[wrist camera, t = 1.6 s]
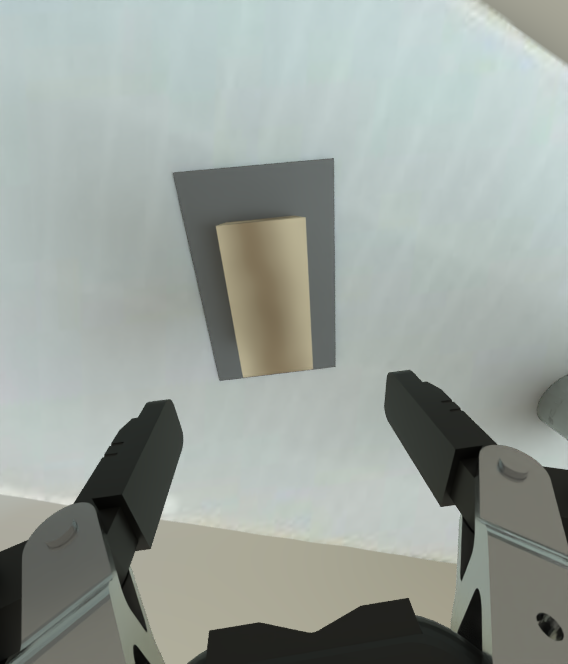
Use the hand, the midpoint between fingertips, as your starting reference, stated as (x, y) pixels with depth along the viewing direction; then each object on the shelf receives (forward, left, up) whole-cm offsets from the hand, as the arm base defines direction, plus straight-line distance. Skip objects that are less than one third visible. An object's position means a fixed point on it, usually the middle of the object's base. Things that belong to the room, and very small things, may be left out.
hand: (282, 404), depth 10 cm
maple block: (0, 0, -17) cm, 17 cm away
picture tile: (0, 0, -18) cm, 18 cm away
